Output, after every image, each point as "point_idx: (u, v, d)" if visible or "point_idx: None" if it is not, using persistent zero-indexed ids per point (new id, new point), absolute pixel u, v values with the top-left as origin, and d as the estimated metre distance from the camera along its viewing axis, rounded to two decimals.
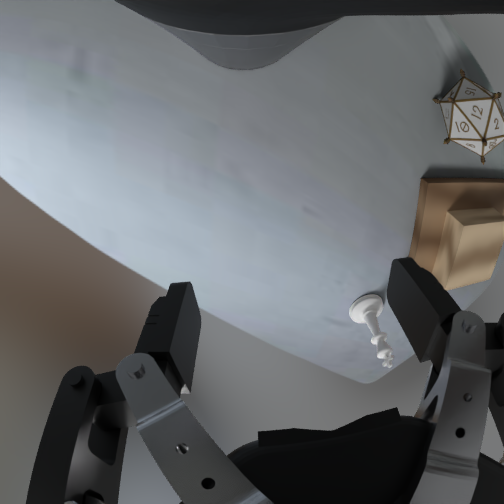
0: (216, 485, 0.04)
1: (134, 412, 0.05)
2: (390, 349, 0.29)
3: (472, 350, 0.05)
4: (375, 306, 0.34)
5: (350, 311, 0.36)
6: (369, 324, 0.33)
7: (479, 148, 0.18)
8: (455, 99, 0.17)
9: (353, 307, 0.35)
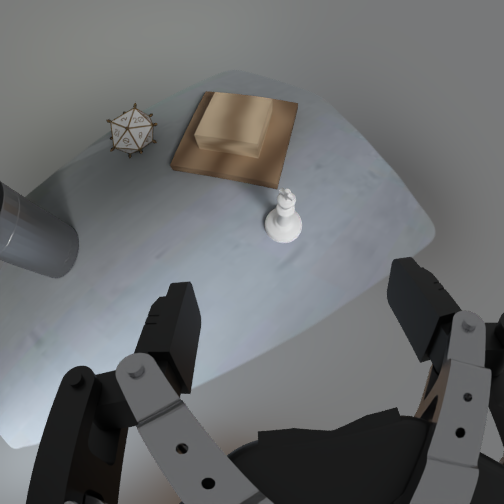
0: (216, 485, 0.04)
1: (134, 412, 0.05)
2: (281, 193, 0.30)
3: (472, 350, 0.05)
4: (276, 214, 0.37)
5: (278, 240, 0.37)
6: (281, 219, 0.34)
7: (140, 129, 0.37)
8: None
9: (272, 237, 0.37)
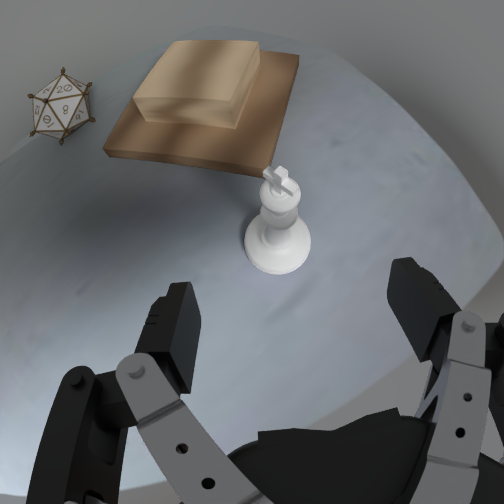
0: (216, 485, 0.04)
1: (134, 412, 0.05)
2: (268, 179, 0.14)
3: (472, 350, 0.05)
4: None
5: (268, 271, 0.20)
6: (272, 234, 0.18)
7: (66, 100, 0.21)
8: None
9: (257, 265, 0.20)
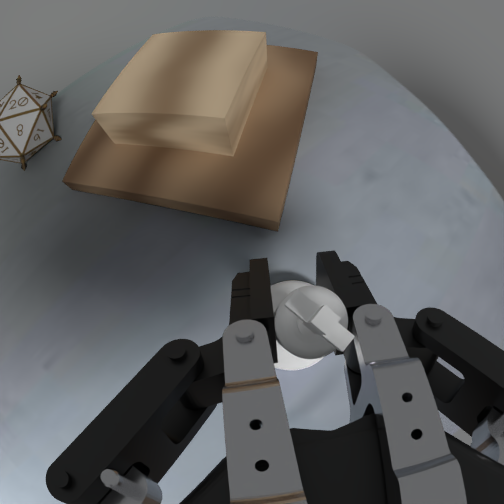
0: (268, 470, 0.04)
1: (226, 374, 0.06)
2: (291, 297, 0.07)
3: (388, 343, 0.06)
4: (276, 304, 0.14)
5: (278, 367, 0.14)
6: None
7: (19, 118, 0.15)
8: None
9: None
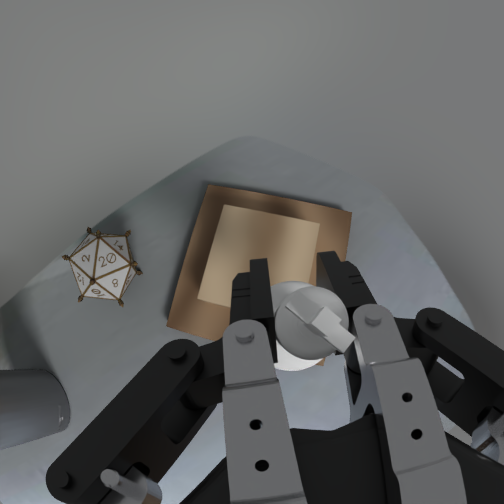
0: (268, 470, 0.04)
1: (226, 374, 0.06)
2: (292, 298, 0.07)
3: (388, 344, 0.06)
4: (276, 304, 0.14)
5: None
6: None
7: (113, 275, 0.25)
8: None
9: None
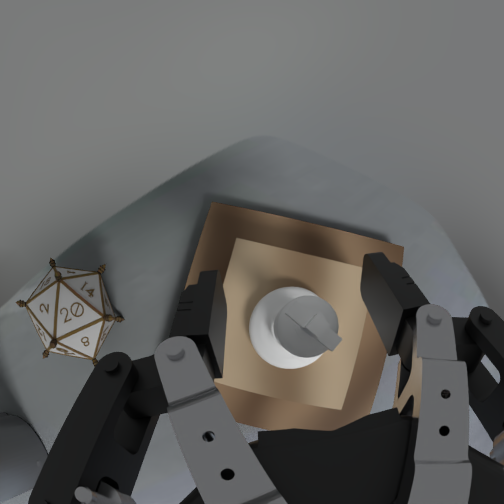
0: (235, 477, 0.04)
1: (167, 394, 0.06)
2: (291, 305, 0.09)
3: (441, 344, 0.06)
4: (276, 308, 0.16)
5: None
6: None
7: (82, 332, 0.17)
8: None
9: (265, 359, 0.15)
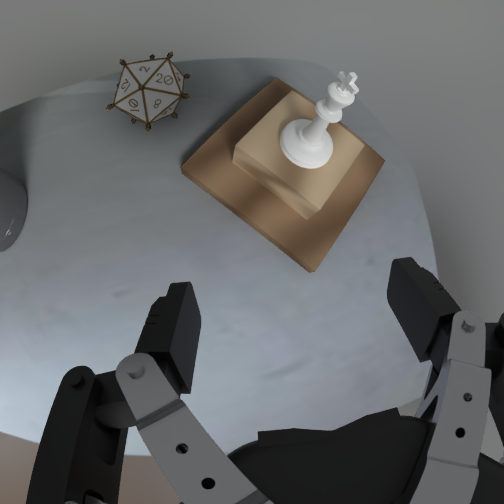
0: (216, 485, 0.04)
1: (134, 412, 0.05)
2: (336, 82, 0.16)
3: (472, 350, 0.05)
4: (305, 125, 0.23)
5: (291, 158, 0.23)
6: (312, 128, 0.21)
7: (161, 95, 0.22)
8: (114, 102, 0.22)
9: (285, 150, 0.23)
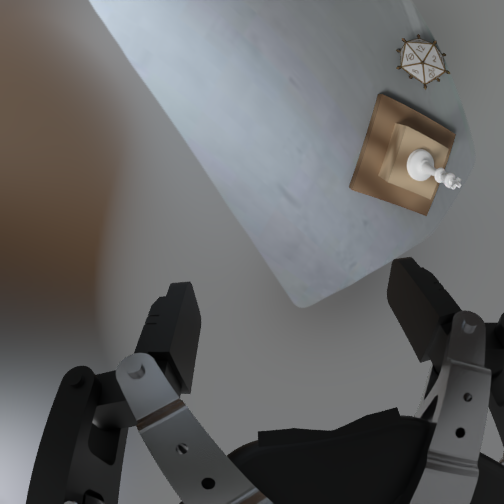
0: (216, 485, 0.04)
1: (134, 412, 0.05)
2: (455, 177, 0.28)
3: (472, 350, 0.05)
4: (429, 162, 0.34)
5: (409, 159, 0.35)
6: (429, 167, 0.32)
7: (421, 73, 0.28)
8: (407, 41, 0.26)
9: (412, 154, 0.34)
